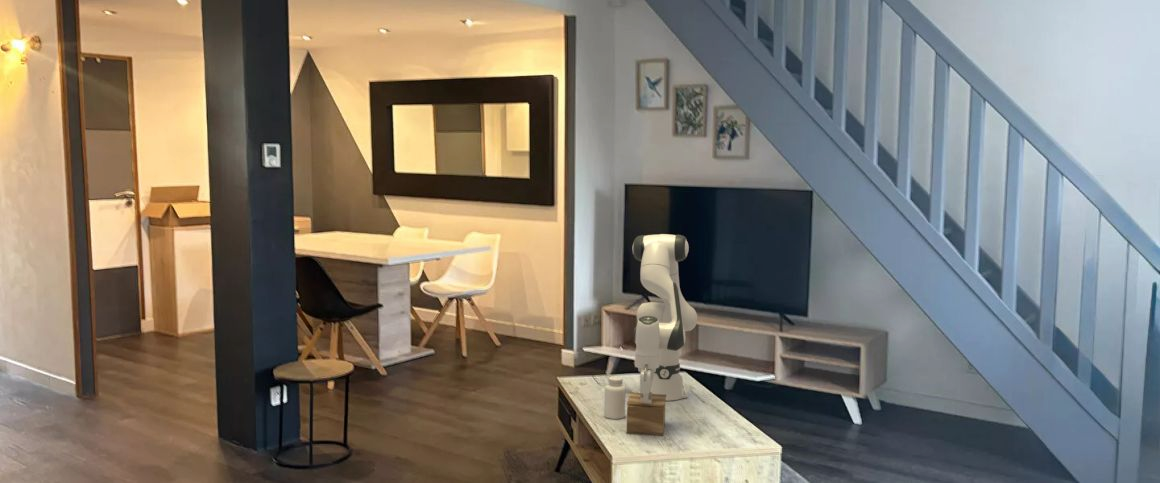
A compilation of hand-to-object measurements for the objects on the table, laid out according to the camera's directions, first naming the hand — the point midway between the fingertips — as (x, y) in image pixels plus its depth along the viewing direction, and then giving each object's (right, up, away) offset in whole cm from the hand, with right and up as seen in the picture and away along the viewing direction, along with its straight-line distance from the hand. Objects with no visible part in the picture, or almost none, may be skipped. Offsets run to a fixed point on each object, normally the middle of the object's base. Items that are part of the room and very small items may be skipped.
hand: (646, 399), depth 329 cm
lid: (+1, -2, +5) cm, 5 cm away
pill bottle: (-11, -10, +19) cm, 24 cm away
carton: (0, -12, +5) cm, 12 cm away
